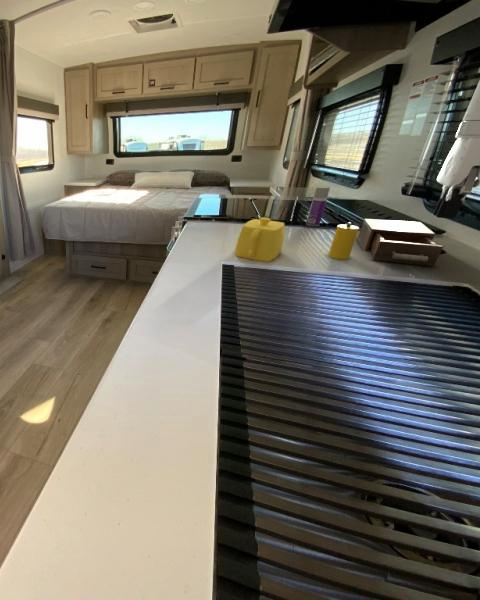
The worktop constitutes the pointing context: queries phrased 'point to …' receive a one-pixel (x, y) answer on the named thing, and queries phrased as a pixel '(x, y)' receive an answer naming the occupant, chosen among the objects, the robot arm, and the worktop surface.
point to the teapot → (260, 240)
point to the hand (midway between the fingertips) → (443, 216)
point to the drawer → (404, 248)
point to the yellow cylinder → (343, 241)
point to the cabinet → (390, 230)
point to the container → (317, 206)
